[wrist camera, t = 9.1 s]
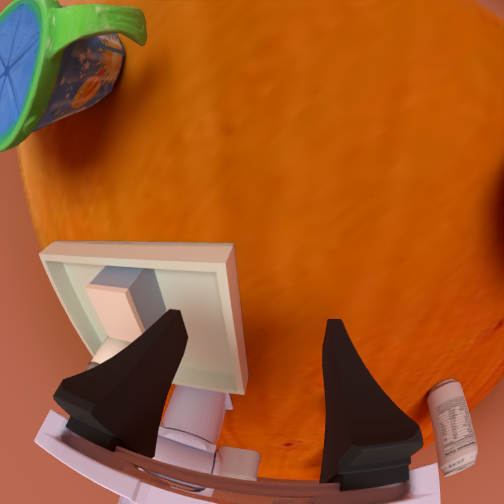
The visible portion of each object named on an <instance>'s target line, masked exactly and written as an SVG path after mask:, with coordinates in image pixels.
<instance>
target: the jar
mask: <svg viewBox="0 0 504 504" xmlns="http://www.w3.org/2000/svg"><path fill="white" fill-rule="evenodd" d="M131 343H132V342H129V341H124V340H120V339H116V338H111V337H109V336H107V337H106V339H105V340H104V342H103V343H102V345H101V346H100V348H99V349H98V351H97V353H96V354H95V356H94V357H93V359H92V361H91V362H90V363H89V364H88V365H87V367H86V371H87V370H89V369H91V368H93V367H95V366H97V365H99V364H101V363H102V362H104V361H106V360H108V359H109V358H111V357H113V356H114V355H116V354H117V353H119V352H120V351H121V350H123V349H124V348H126V347H127V346H128V345H129V344H131Z"/></svg>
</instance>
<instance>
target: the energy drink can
mask: <svg viewBox="0 0 504 504" xmlns="http://www.w3.org/2000/svg"><path fill="white" fill-rule="evenodd" d="M427 402H428V407H429V411H430V416H431V421H432V426H433V431H434V437H435V443H436V450H437V457H438V464H439V469H440V470H441V471H442V472H443V473H444V477H446V476H449V475H452V474H455V473H457V472H459V471H461V470H464V469H466V468H468V467H470V466H471V465H473V464H475V463H476V462H475V458H476V455H477V452H478V450H477V444H476V439H475V435H474V430H473V426H472V422H471V418H470V414H469V410H468V407H467V403H466V400H465V397H464V393H463V390H462V387H461V384H460V383H459V382H456V380H455V379H449V380H446V381H443V382H441V383H439V384H437V385H436V386H435V387H433V388H432V389H431V390H430V392H429V396H428V398H427Z"/></svg>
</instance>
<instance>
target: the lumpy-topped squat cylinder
mask: <svg viewBox="0 0 504 504" xmlns="http://www.w3.org/2000/svg"><path fill="white" fill-rule="evenodd" d="M218 452H219V453H220V455H221V457H222V460H223V462H222V469H221V474H220V476H223V477H229V478H236V479H243V480H251V481H256V480H257V475H258V469H259V463H260V457H261V456H260V453H258V452H256V451H252V450H245V449H238V448H233V447H227V446H222V447H219V449H218Z"/></svg>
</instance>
